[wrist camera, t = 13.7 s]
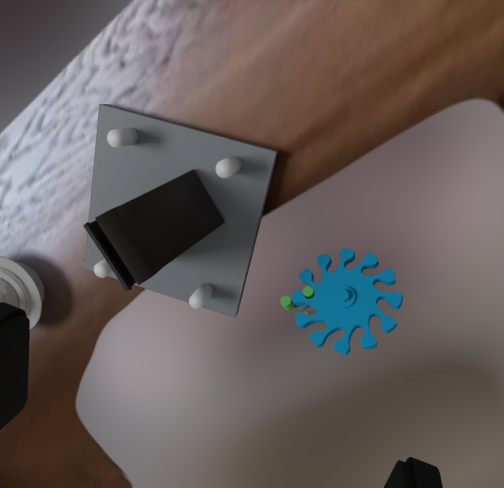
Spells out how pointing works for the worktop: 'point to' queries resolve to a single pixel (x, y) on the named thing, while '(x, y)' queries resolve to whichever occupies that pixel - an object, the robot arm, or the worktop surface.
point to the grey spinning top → (21, 288)
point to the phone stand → (154, 228)
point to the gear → (344, 300)
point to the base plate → (168, 168)
